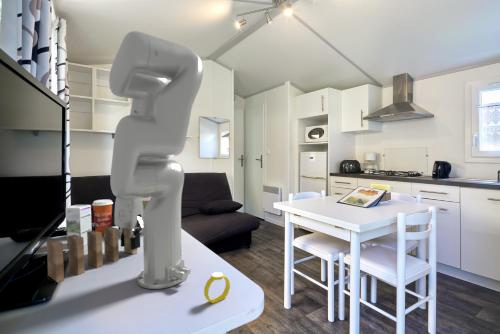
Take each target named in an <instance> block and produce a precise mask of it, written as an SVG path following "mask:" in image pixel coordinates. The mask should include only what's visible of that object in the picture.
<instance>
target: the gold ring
mask: <svg viewBox="0 0 500 334" xmlns="http://www.w3.org/2000/svg"><path fill="white" fill-rule="evenodd" d="M210 276H211V277H210V278H209V279H208V280H207V281H206V283H205V285H204V289H203V293H204V297H205V299H206V300H207V301H208V302H209V303H211V304H215V303H218V302H220V301H223V300H225V299H226V297H227V296H228V294H229V292H230V289H231V288H230V287H231V282H230V279H229V278H228V277H227V276H226V275H224V272H221V271H215V272H212V273H211V275H210ZM223 279H224V281H225V286H224V290H223V292H222V293H221V295H219V296H216V297H214V298H212V299H211V298H210V296H209V289H210V287H211V285H212V284H213V282H214V281H221V280H223Z"/></svg>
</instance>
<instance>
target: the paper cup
mask: <svg viewBox="0 0 500 334" xmlns="http://www.w3.org/2000/svg"><path fill="white" fill-rule="evenodd" d="M113 204H114V202H113V200H111V199H97V200H94V201H93V202H92V204H91V206H92V209H93V210H92V211H93V220H94V221H93V222H94V229H95V230H94V231H97V232H101V233H102V236H104V228H105V227H112V216H113Z"/></svg>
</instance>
